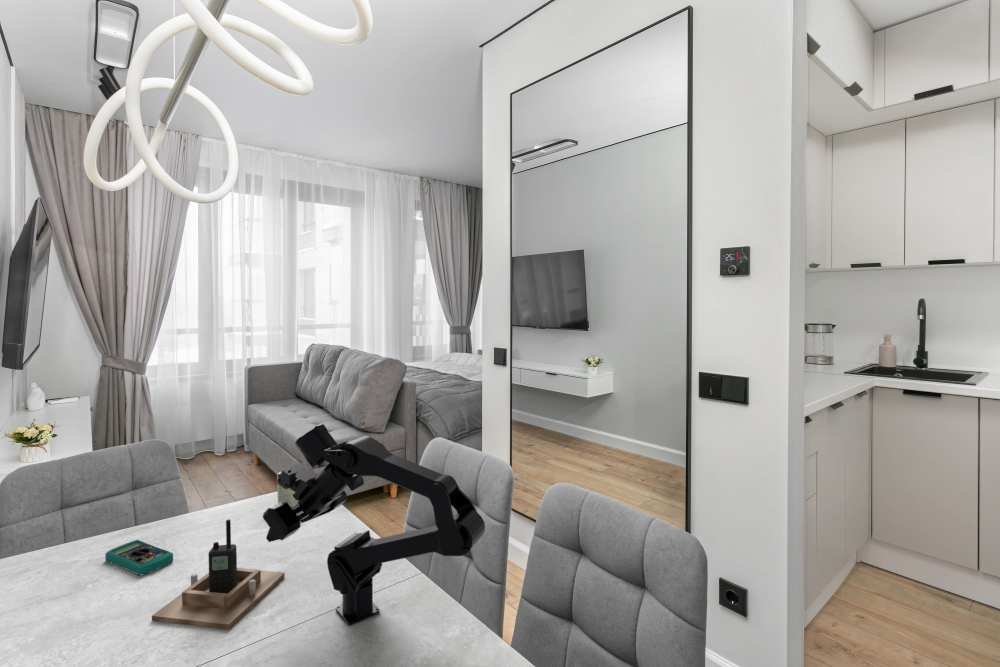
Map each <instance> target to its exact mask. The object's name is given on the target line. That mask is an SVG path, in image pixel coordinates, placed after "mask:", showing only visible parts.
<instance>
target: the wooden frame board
mask: <svg viewBox="0 0 1000 667" xmlns="http://www.w3.org/2000/svg"><path fill="white" fill-rule="evenodd" d="M285 573H286V572H282V571H281V572H280V571H270V570H261V569H252V568H243V567H237V586H236V587H235V588H234V589H232V590H231V591H230V592H229V593H228V594H225V593H216V592H209V572H208V573H206V574H205V575H204V576H202V577H201V578H200V579H199V578H198V573H194V574H191V575H190V586H189V587H187V588H186V589H184V590H183V591H182V592H181V593H180V594H179V595H178V596H177V597H175V598H173V599H172V600H171V601H170V602H169V603H167V604H166V605H164V606H162V608H160V609H159V610H157V611H156V612H154V613H153V614H152V615H151V622H160V623H166V624H167V623H168V624H174V625H175V624H176V625H184V626H185V625H186V626H195V627H203V628H210V629H211V628H212V629H219V630H220V629H222V630H228V631H229V630H230V629H231V628H232V627H234V626H235V625H236V623H238V622H239V621H240V620H241V619H242V618H243V617H244V616H246V614H247V613H248V612H249V611H250V610H251V609H253V607H255V606H256V605H257V604H258V603H259V602H260V601H261V600H262V599H263V598H264V597H265V596H266V595H267V594H268V593H269V592H270V591H271V590H273V589H274V588H275V587H276V586H277V585H278V584H280V582H281V581H282V580H283V579H284V578H285V576H286V575H285Z"/></svg>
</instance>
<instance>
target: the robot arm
mask: <svg viewBox="0 0 1000 667" xmlns="http://www.w3.org/2000/svg"><path fill="white" fill-rule="evenodd" d="M294 445H295V446H296V448H297V450H299V452H300V453H301V454H302V455H303V457H304V458H305V460H306V462H307V463H308V465H310V467H309V466H307V465H306V464H305V463H304V462H301V461H300V462H299V461H298V462H295V463H293V464H290V465H287V466H286V467H285V468H284V469H282V470H281V471H282V472H281V471H280V472H281V473H280V474H278V480H277V479H276V484H277V483H278V484H279V485H280V486H281V487H283V488H284V489H288V488H290V489H291V490H293V491H295V493H294V494H293V495H292V496H293V497H294V498H295V500H297V499H298V504H297V505H298V506H297V507H295V508H294V509H293V507H290V506H289V504H288V503H287V502H280V503H278V502H277V503H276V504H274V505H272V506H270V507H268V508H267V509H266V510H265V511H264V512H263V514H262V519H263V520H264V521H265V523H266V524H267V525H268V527H269V530H268V531H267V534H266V540H267V542H268V543H270V542H274V541H279V540H280V541H284V540H285V539H287V538H289V537H291V536H292V535H293V534H295V533H296V532H297V531H299V529H301V524H304V523H306V522H309V521H311V520H313V519H316V518H318V517H321V516H324V515H326V514H328V513H330V512H332V511H334V510H337V508H339V507H340V506H342V505H343V504H344V503H345V502H346V501H347V500H348V498H347V497H348V496H347V495H348V494H347V492H346V491H345V489H347V487H348V488H349V489H350V491H353V492H354V491H356V490H357V489H359V488H361V487H362V486H364V485H365V482H364V477H377V478H379V479H383V480H385V481H388V482H389V483H392V484H394V485H396V486H399V487H401V488H403V489H406V490H408V491H411V492H413V493H415V494H418V495H420V496H422V497H425V498H427V499H429V501H430V503H431V504H430V505H432V508H433V516H434V520H435V521H434V522H435V525H432V526H427V527H423V528H419V529H415V530H414V529H413V530H410V531H406V532H401V533H398V534H392V535H389V536H385V537H379V538H374V537H372V536H371V532H370V530H369V529H368V530H365V531H364V532H360V533H359V532H354V533H353V534H351V535H350V536H348V537H347V538H345V539H344V540H342V541H341V542H340V543H338V544H337V545H336V546H334V547H333V550H332V551H331V552H329V553H328V555H327V556H328V557H327V561H326V563H327V570H328V573H329V577H330V580H331V583H332V586H333V589H334V590H335V591H338V592H339V593H340V595H342V604H340V605H337V606H335V611H336V612H337V614H338V615H339V616H340V617H341V618H342V619H343V620H344V621H345V623H346V624H347V625H348V626H349V625H350V626H351V625H354V624H356V623H358V622H360V621H363V620H365V619H367V618H369V617H372V616H375V615H377V614H379V613H380V611H381V610H380V608H379V607H378V605H376V604H375V602H373V591H374V590H373V587H374V585H373V581H374V580H373V578H374V577H375V576H376V575H377V574H379V573H380V572H381V571H382V570H381V569H382V566H383V563H389V562H393V561H399V560H403V559H407V558H414V557H417V556H421V555H422V556H423V555H426V554H427V555H428V554H432V553H435V554H439V555H440V556H443V557H463V556H465V555H467V554H468V553H469V552H470V551H471V550H472V549H473V548H474V547H475V546H476V544H477V543H478V542H479V540H480V539H481V538H482V537H483V535H484V534H485V532H486V525H485V521H484V519H483V517H482V516H481V514H479V512H478V511H477V509H476V507H475V505H474V503H473V501H472V500H471V498H469V497H468V495H466V494H465V493H464V491H462V490H461V488H460V487H459V485H458V482H457V481H456V479H455V478H454V477H453V476H452V475H448V474H442V473H440V472H437V471H435V470H433V469H431V468H427V467H426V466H425V467H424V466H423V465H420V464H418V463H416V462H413V461H411V460H407V459H405V458H402V457H400V456H398V455H396V454H393V453H392V452H390V451H388V449H387V448H386V446H385V444H383V443H381V442H380V441H378V440H377V439H374V438H373V437H372V436H368V435H363V436H360V437H358V438H355V439H353V440H346V441H344V442H341V443H339V444H338V442H337V441H336V440H335V438H334V437H333V436H332V435H331V433H330V432H329V430H328V429H327V427H326V426H325V424H324V423H320V424H318V425H315V426H314V428H312V429H311V430H309V431H307V432H306V433H305V434H303V435H302V436H299V437H298V438H297V440H296V441H295V442H294ZM311 467H312V468H315V467H318V468H319V469H320V468H323V467H324V468H323V469H322V470H321V472H320V473H319V474H317V473H316V471H314V470H313V469H311ZM452 507H453V508H454V509H455V511H456V514H453V508H452Z"/></svg>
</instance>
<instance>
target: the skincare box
mask: <svg viewBox="0 0 1000 667" xmlns="http://www.w3.org/2000/svg"><path fill="white" fill-rule="evenodd" d="M281 472H282V470H281V471H280V472H278V473H276V481H277V480H278V474H280V473H281ZM276 486H277V487H276V490H277V504H278V503H280V502H287V503H288V504H289V506H290V507H291V508H294V507H296V506H297V505H298V499H297V500H295V498H294V497H293V496H292V495H293V494H294V493H295V491H293V490H291V489H290V488H288V489H284V488H283V487H281V486H280V485H279V484H278V483H277V482H276Z"/></svg>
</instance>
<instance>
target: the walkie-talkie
mask: <svg viewBox="0 0 1000 667" xmlns="http://www.w3.org/2000/svg"><path fill="white" fill-rule="evenodd" d="M225 526H226V527H225V530H226V531H225V536H226V537H225V538H226V540H225V541H226V544H220V543H219V542H218V541H215V542H214V543H213V546H212V547H211V548H210V550H209V551H208V573H209V592H216V593H225V594H228V593H229V592H230V591H231V590H232V589H234V588H235V587H236V586H237V568H238V565H237V564H238V561H237V560H238V559H237V558H238V557H237V556H238V554H237V545H236V544H234V543H232V536H231V532H232V529H231V528H232V527H231V519H226V520H225Z"/></svg>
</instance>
